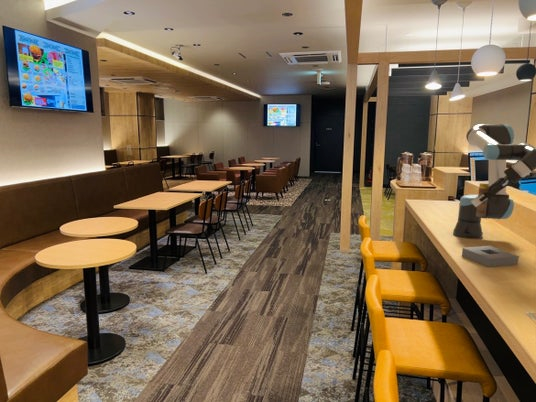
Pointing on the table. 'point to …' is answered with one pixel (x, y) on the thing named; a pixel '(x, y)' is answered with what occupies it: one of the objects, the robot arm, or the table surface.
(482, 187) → the yellow capped peg
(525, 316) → the table surface
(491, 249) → the socket plate
